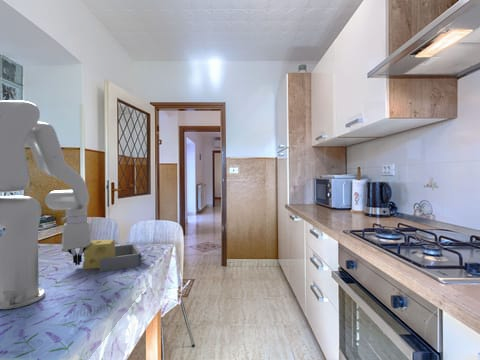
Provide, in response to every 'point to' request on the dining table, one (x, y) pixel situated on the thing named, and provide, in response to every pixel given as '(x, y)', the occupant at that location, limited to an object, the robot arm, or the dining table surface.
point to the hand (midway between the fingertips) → (77, 264)
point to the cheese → (98, 253)
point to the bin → (122, 258)
